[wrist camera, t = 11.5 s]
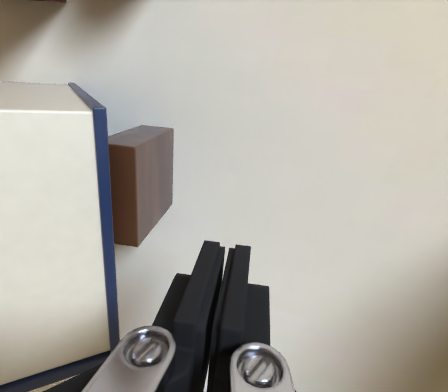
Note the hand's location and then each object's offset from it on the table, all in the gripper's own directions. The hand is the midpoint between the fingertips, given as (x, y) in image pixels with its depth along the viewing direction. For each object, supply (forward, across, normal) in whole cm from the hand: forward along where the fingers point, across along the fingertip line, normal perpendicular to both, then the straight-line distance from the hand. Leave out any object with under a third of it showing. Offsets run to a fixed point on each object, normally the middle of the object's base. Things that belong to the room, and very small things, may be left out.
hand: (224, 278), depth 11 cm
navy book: (+6, +9, 0) cm, 11 cm away
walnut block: (+13, +7, 0) cm, 14 cm away
